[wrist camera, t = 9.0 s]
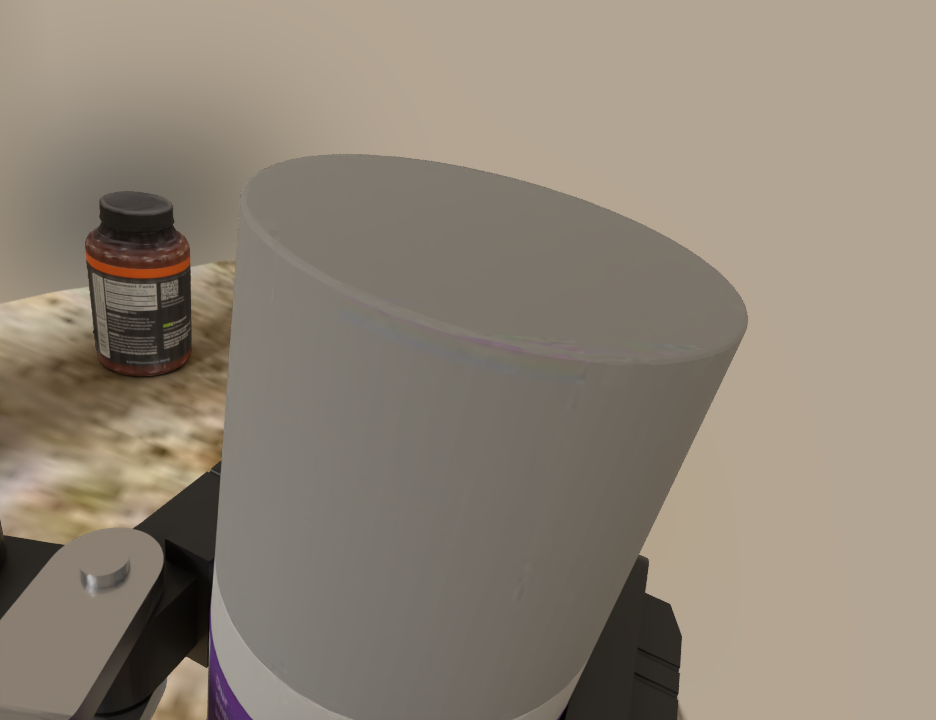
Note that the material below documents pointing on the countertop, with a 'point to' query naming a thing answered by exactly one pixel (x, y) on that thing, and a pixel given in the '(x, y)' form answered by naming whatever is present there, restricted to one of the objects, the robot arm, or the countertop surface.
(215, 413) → the countertop surface
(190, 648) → the robot arm
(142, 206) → the supplement bottle
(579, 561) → the container
